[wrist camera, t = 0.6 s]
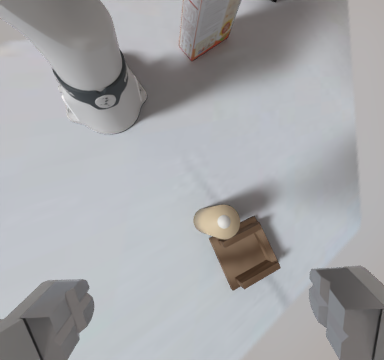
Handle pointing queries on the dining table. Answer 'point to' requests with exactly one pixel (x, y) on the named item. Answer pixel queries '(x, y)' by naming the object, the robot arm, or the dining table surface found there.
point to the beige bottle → (217, 221)
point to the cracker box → (205, 24)
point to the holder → (245, 255)
